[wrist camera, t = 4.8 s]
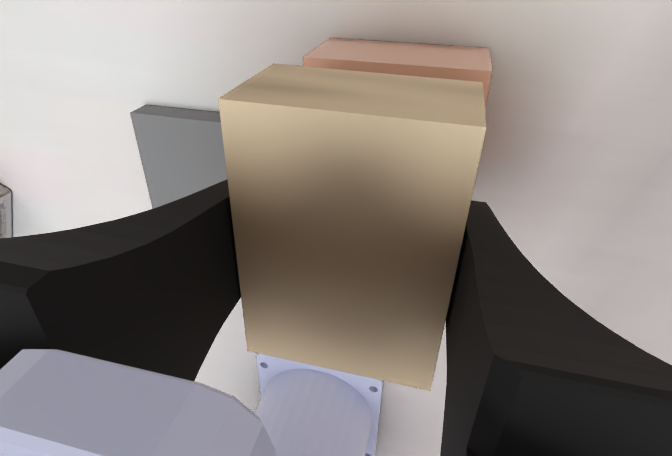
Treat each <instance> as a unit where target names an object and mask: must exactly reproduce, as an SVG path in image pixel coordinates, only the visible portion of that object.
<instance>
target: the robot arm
mask: <svg viewBox="0 0 672 456" xmlns="http://www.w3.org/2000/svg"><path fill="white" fill-rule="evenodd" d="M240 297H241V291H240V282H239V274H238V265H237V256H236V248H235V239H234V231H233V222H232V213H231V205H230V196H229V188H228V179H226V180H224V181H222V182H219V183H217V184H215V185H212V186H210V187H207V188H205V189H203V190H200V191H198V192H196V193H193V194H191V195H188V196H186V197H183V198H181V199H178V200H175V201H173V202H170V203H167V204H165V205H162V206H160V207H157V208H154V209H151V210H148V211H145V212H142V213H138V214H135V215H131V216H128V217H124V218H121V219H117V220H113V221H109V222H104V223H99V224H95V225H90V226H85V227H81V228H76V229H71V230H65V231H59V232H52V233H45V234H38V235H30V236H22V237H12V238H0V456H375V452H376V443H377V434H378V424H379V415H380V406H381V397H382V388H383V380H378V379H373V378H369V377H364V376H360V375H355V374H351V373H346V372H341V371H337V370H332V369H328V368H323V367H318V366H314V365H309V364H305V363H300V362H295V361H291V360H286V359H282V358H277V357H273V356H268V355H263V354H259V353H258V354H257V357H256V359H257V368H258V376H259V385H260V394H261V400H260V402H259V404H258V407H257V409H256V411H255V413H253V412H252V411H251V410H250V409H248V408H247V407H246V406H245V405H244V404H242V403H241V402H240V401H239V400H237V399H236V398H235V397H234V396H231V395H229V394H226V393H224V392H221V391H219V390H217V389H214V388H212V387H209V386H207V385H204V384H202V383H198V382H194V380H195V378H196V376H197V374H198V372H199V369H200V367H201V365H202V363H203V361H204V359H205V357H206V355H207V353H208V351H209V349H210V347H211V345H212V343H213V341H214V339H215V337H216V335H217V334H218V332H219V330H220V329H221V327H222V325H223V323H224V322H225V320H226V319H227V317H228V316H229V314H230V313H231V311H232V310H233V308H234V307H235V305H236V304H237V302H238V300H239V299H240ZM446 348H447V386H446V398H445V410H444V422H443V433H442V444H441V455H440V456H672V365H670V364H668V363H666V362H664V361H662V360H660V359H658V358H657V357H655V356H653V355H651V354H649V353H647V352H645V351H644V350H642V349H640V348H638V347H637V346H635V345H634V344H632V343H630V342H629V341H627V340H626V339H624V338H622V337H621V336H619V335H618V334H616V333H614V332H613V331H611V330H610V329H608V328H607V327H605V326H604V325H602V324H601V323H599V322H598V321H597V320H595V319H594V318H592V317H591V316H590V315H588V314H587V313H586V312H584V311H583V310H582V309H581V308H579V307H578V306H577V305H575V304H574V303H573V302H571V301H570V300H569V299H568V298H567V297H565V296H564V295H563V294H562V293H561V292H559V291H558V290H557V289H556V288H555V287H554V286H553V285H552V284H551V283H550V282H549V281H547V280H546V279H545V278H544V277H543V276H542V275H541V274H540V273H539V272H538V271H537V270H536V269H535V268H534V267H533V265H532V264H531V263H530V262H529V261H528V260H527V259H526V258H525V256H524V255H523V254H522V253H521V252H520V251H519V249H518V248H517V247H516V245H515V244H514V243H513V241H512V240H511V239H510V237H509V236H508V235H507V233H506V232H505V230H504V229H503V227H502V226H501V224H500V223H499V221H498V220H497V218H496V217H495V215H494V214H493V212H492V210H491V209H490V207H489V206H488V205H487V203H486V202H478V201H471V203H470V207H469V212H468V217H467V221H466V226H465V231H464V236H463V240H462V245H461V250H460V254H459V259H458V264H457V269H456V273H455V278H454V283H453V287H452V292H451V297H450V301H449V306H448V311H447V316H446Z"/></svg>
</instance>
